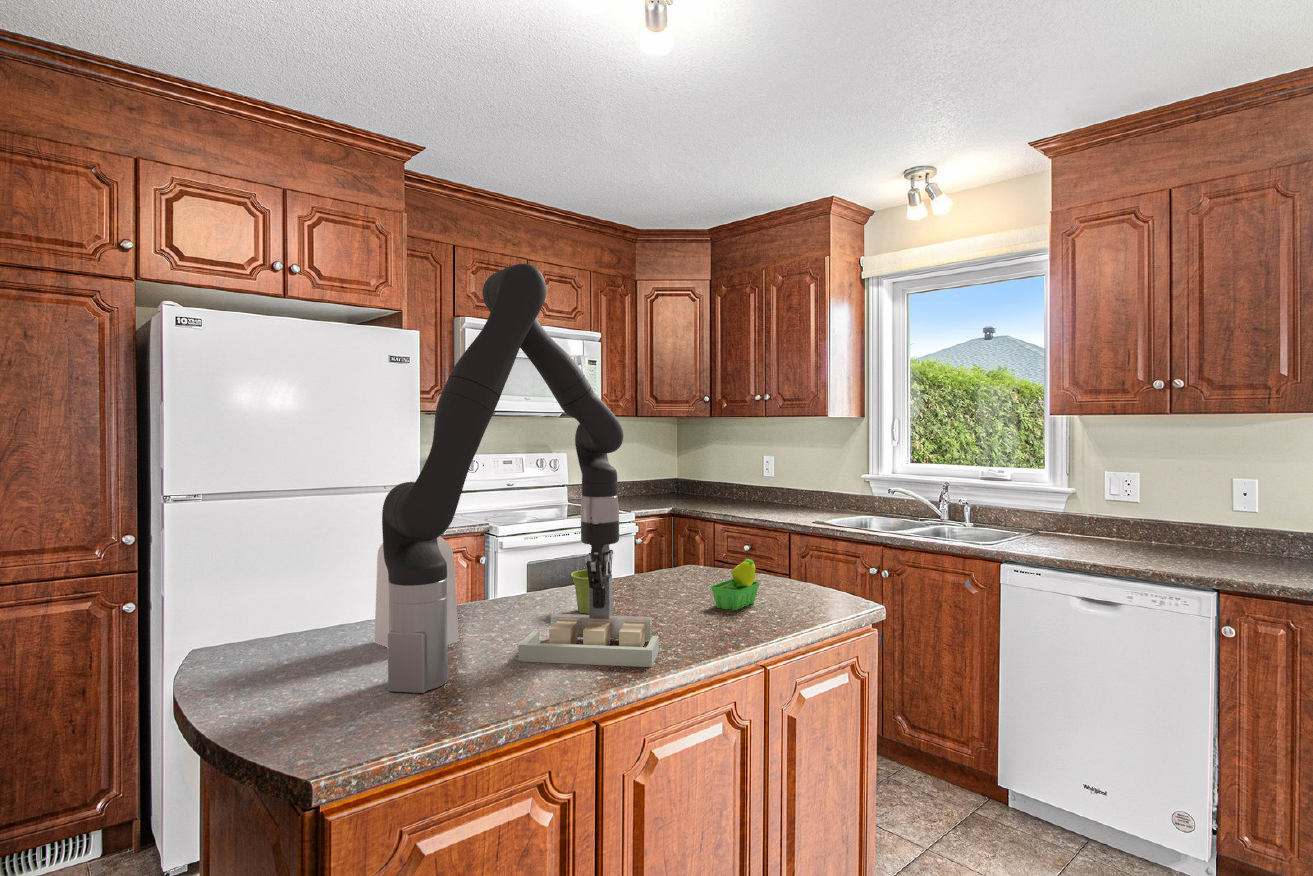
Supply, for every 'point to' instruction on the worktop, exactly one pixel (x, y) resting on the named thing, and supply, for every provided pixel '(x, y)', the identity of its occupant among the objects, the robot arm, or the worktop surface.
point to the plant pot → (582, 590)
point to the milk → (383, 596)
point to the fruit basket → (737, 588)
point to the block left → (564, 632)
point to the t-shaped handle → (604, 615)
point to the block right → (632, 635)
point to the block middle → (597, 634)
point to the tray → (587, 653)
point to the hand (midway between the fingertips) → (600, 605)
